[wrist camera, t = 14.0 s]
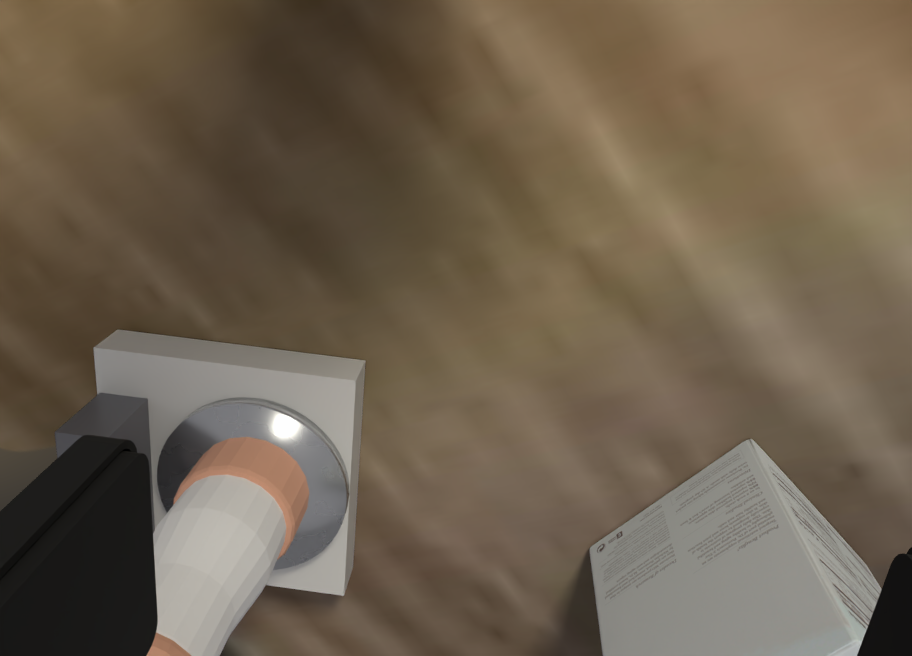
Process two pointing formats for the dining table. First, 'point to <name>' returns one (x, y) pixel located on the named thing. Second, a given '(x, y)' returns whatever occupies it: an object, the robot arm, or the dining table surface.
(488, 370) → the dining table surface
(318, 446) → the scale pan
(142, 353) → the base
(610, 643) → the supplement box
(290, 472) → the salt shaker
